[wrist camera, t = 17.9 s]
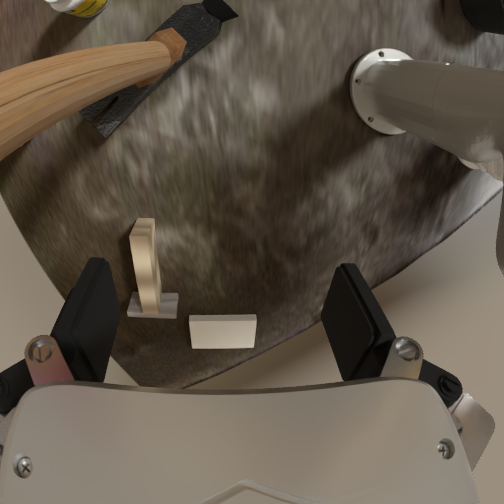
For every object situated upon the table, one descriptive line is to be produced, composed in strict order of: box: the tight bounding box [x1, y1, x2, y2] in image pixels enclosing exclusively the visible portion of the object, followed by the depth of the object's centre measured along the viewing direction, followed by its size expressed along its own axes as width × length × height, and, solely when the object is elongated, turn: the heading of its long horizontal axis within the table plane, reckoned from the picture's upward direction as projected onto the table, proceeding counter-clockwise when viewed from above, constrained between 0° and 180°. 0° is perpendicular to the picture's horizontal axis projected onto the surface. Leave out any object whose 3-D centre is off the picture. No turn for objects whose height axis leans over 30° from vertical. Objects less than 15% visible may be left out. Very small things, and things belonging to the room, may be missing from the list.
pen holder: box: [460, 0, 504, 35], centre depth 19 cm, size 9×9×10 cm
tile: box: [189, 314, 257, 348], centre depth 54 cm, size 12×2×8 cm
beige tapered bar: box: [127, 218, 179, 319], centre depth 42 cm, size 15×8×5 cm, turn 175°
